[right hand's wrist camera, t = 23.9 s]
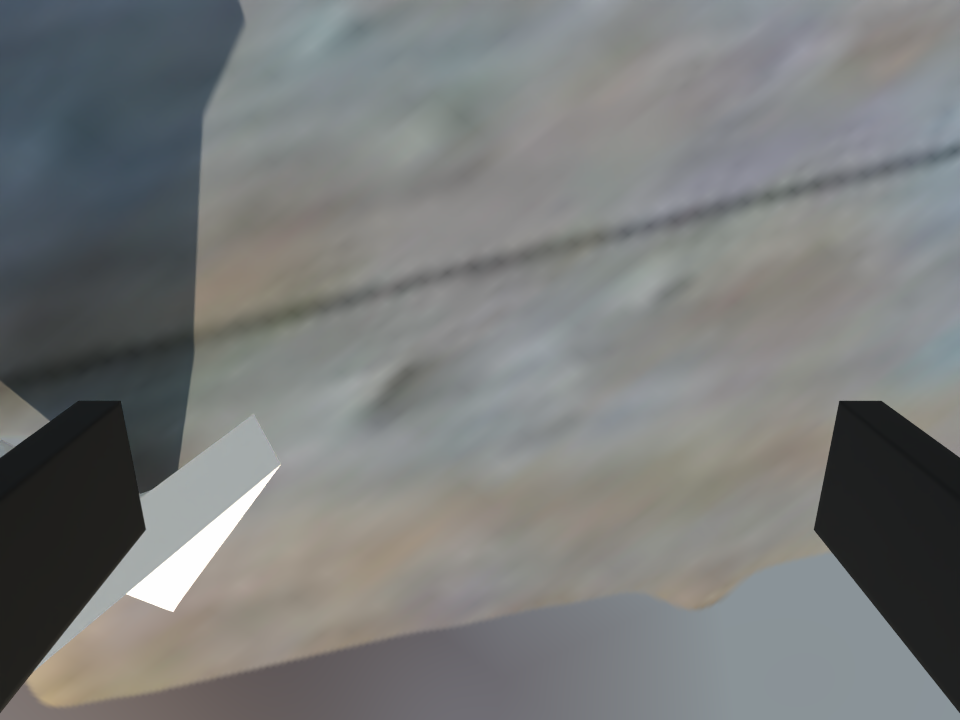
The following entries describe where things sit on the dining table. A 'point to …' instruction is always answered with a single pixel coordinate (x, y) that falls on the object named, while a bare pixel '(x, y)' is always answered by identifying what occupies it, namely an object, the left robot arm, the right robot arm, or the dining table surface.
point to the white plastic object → (184, 523)
